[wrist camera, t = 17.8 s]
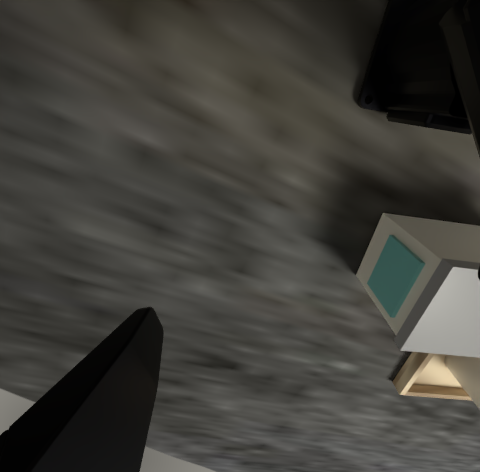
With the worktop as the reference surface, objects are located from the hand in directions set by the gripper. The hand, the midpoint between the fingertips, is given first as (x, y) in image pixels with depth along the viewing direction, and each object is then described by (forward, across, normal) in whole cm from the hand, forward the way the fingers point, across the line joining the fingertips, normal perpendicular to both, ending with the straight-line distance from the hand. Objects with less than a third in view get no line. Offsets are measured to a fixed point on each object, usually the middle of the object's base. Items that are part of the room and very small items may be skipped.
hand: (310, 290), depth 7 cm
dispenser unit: (+13, -12, +9) cm, 20 cm away
